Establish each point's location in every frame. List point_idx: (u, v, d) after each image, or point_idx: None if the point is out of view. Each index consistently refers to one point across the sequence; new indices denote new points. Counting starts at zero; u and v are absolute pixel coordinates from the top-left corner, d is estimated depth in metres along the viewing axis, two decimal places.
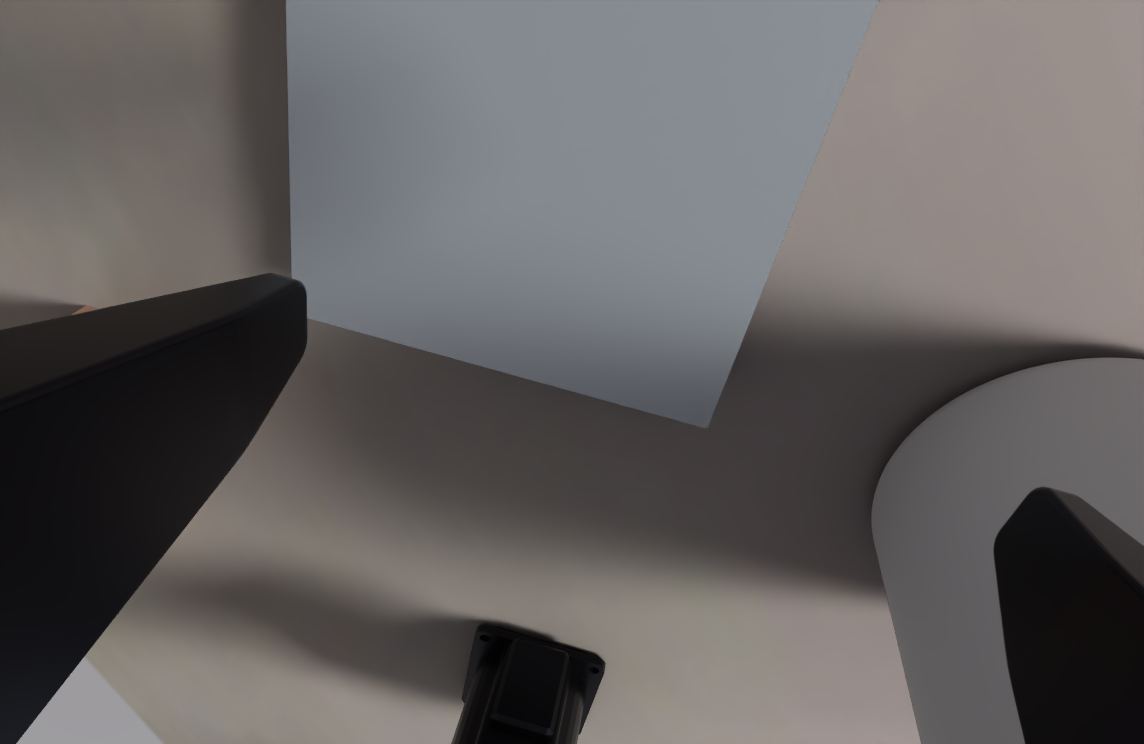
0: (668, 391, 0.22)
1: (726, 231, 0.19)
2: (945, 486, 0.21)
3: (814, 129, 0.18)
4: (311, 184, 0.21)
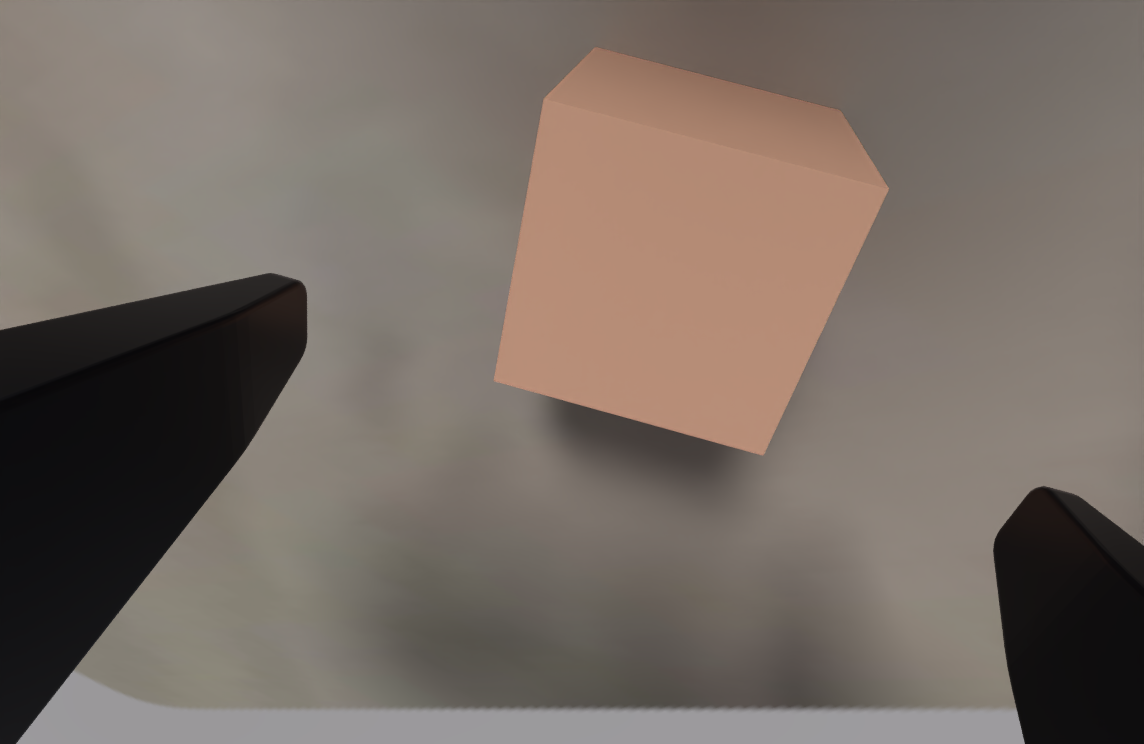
0: None
1: None
2: None
3: None
4: None
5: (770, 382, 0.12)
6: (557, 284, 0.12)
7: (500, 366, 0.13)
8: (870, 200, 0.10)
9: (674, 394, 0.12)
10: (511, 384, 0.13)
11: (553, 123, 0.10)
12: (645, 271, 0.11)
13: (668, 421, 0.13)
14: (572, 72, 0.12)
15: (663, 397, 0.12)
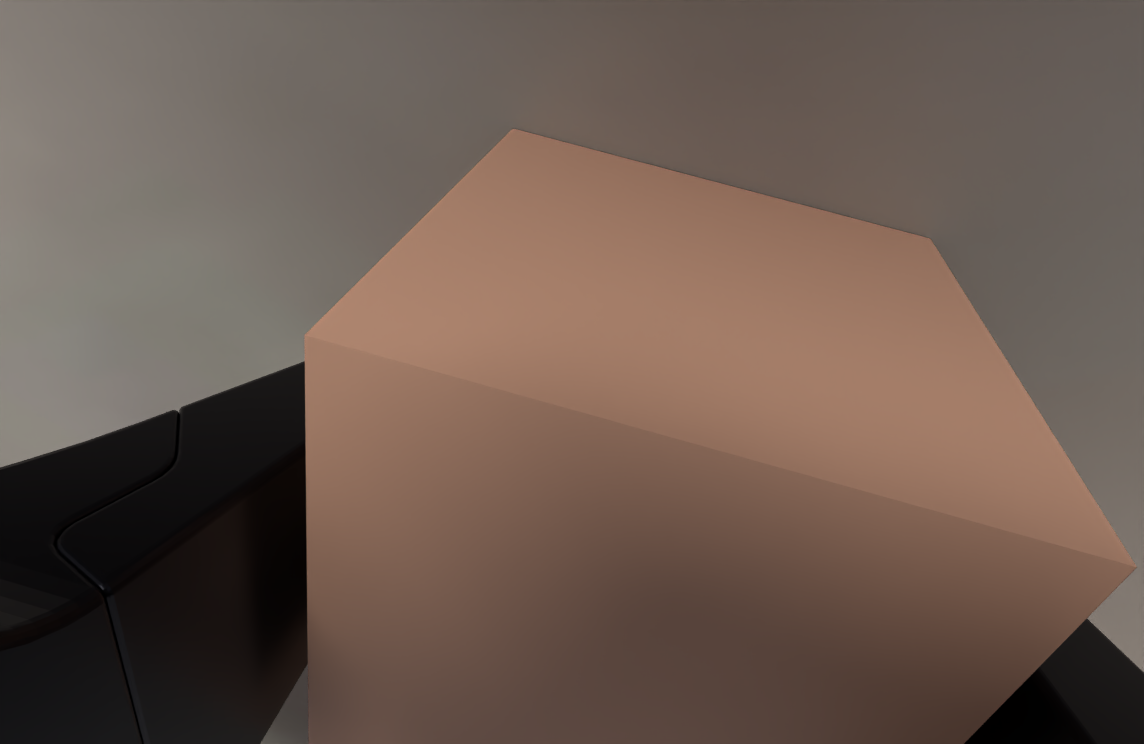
0: None
1: None
2: None
3: None
4: None
5: None
6: (395, 646, 0.06)
7: (315, 742, 0.07)
8: (1085, 583, 0.04)
9: None
10: None
11: (336, 383, 0.04)
12: (566, 646, 0.05)
13: None
14: (432, 213, 0.06)
15: None
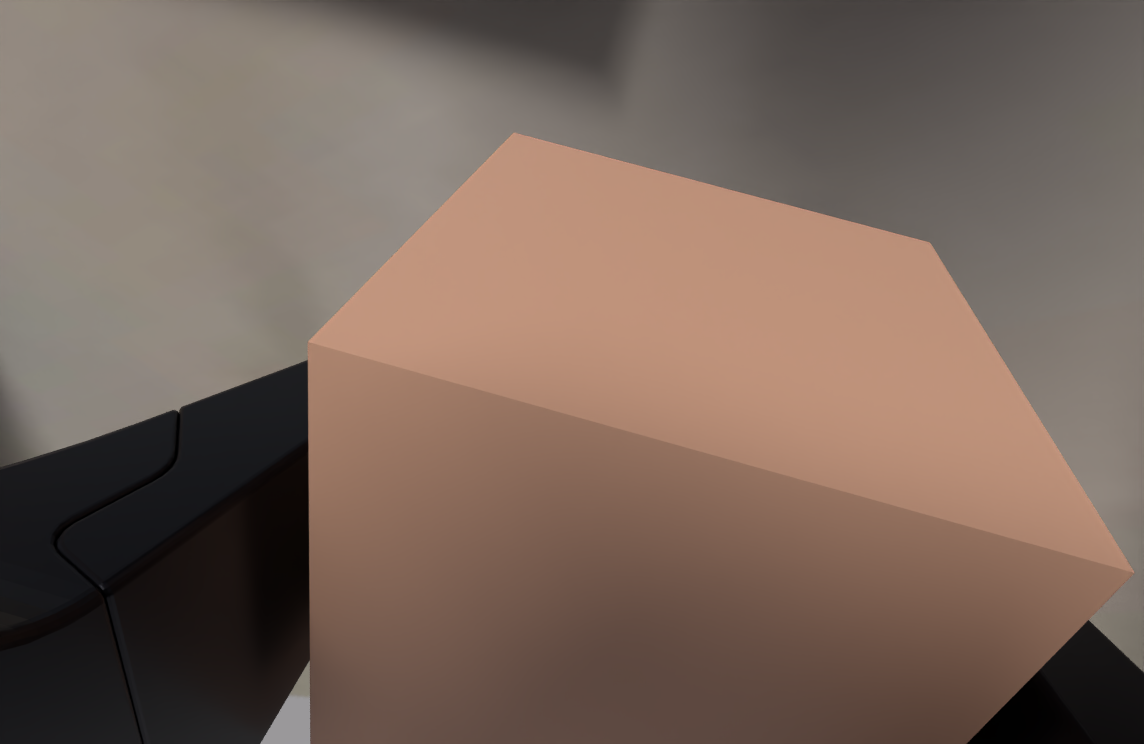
0: None
1: None
2: None
3: None
4: None
5: None
6: (398, 649, 0.06)
7: None
8: (1083, 588, 0.04)
9: None
10: None
11: (339, 389, 0.04)
12: (568, 651, 0.05)
13: None
14: (434, 218, 0.06)
15: None
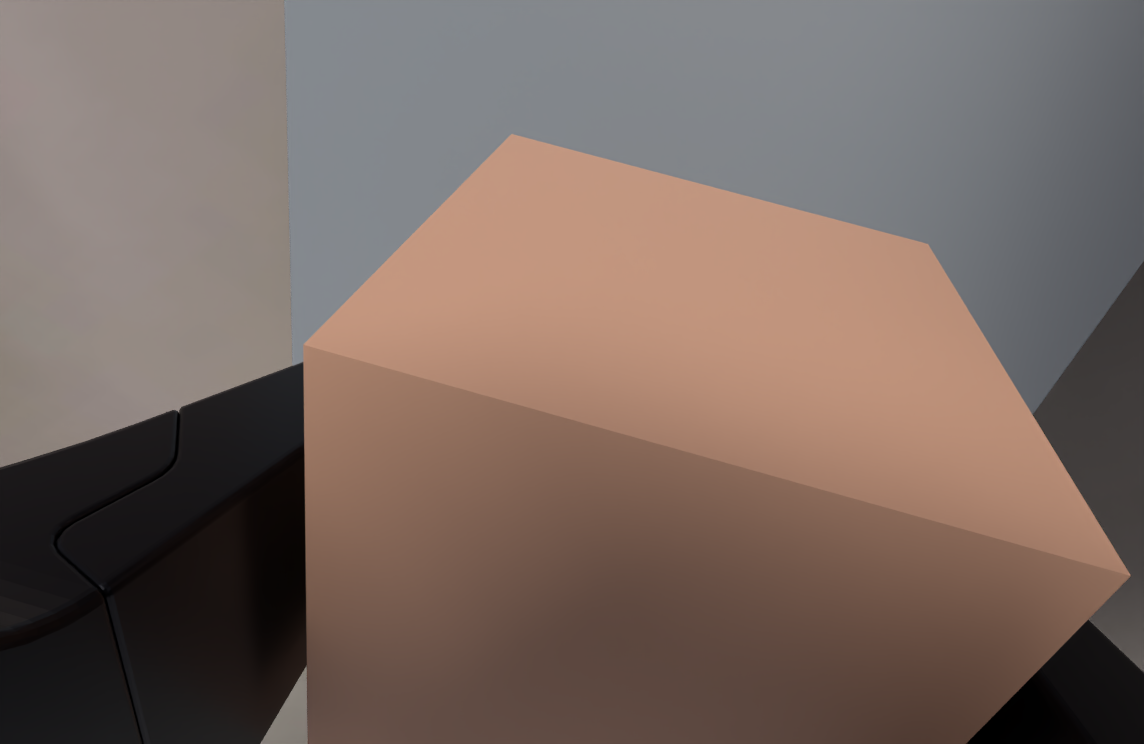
0: None
1: None
2: None
3: None
4: None
5: None
6: (395, 652, 0.06)
7: None
8: (1079, 592, 0.04)
9: None
10: None
11: (335, 392, 0.04)
12: (565, 653, 0.05)
13: None
14: (431, 220, 0.06)
15: None
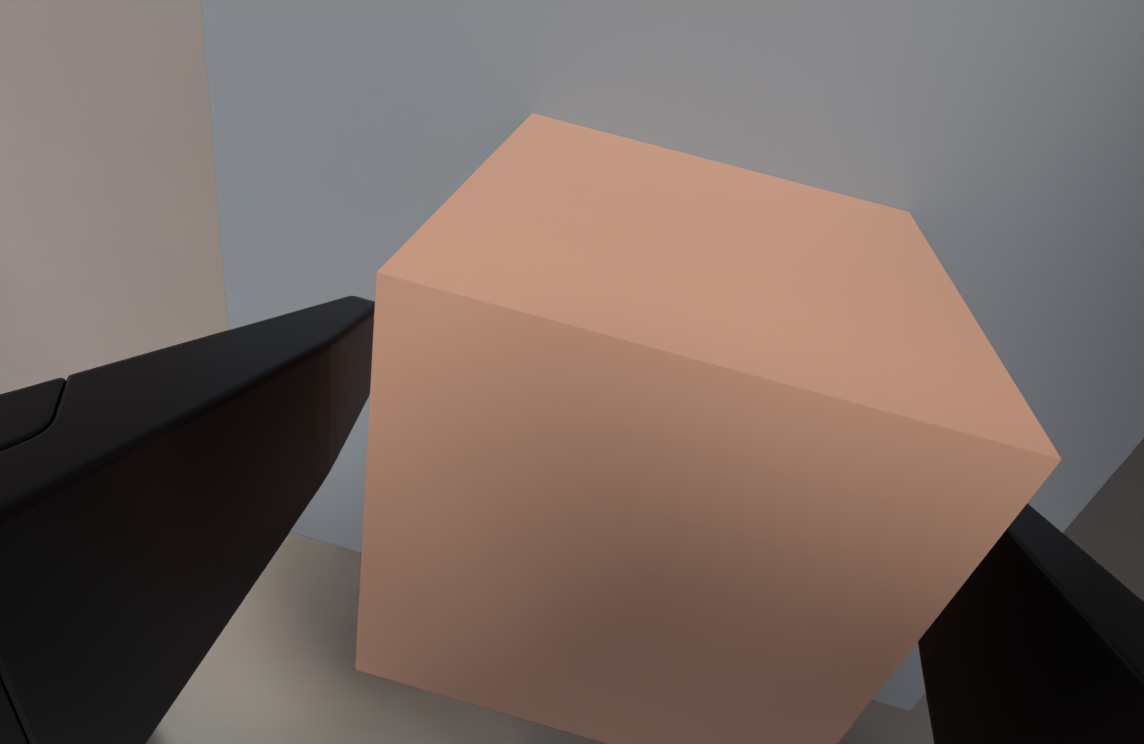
0: None
1: None
2: None
3: None
4: None
5: (809, 714, 0.07)
6: (440, 555, 0.07)
7: (362, 653, 0.08)
8: (1021, 475, 0.05)
9: (646, 713, 0.07)
10: (383, 675, 0.08)
11: (401, 314, 0.05)
12: (589, 550, 0.06)
13: None
14: (469, 182, 0.07)
15: (628, 715, 0.07)
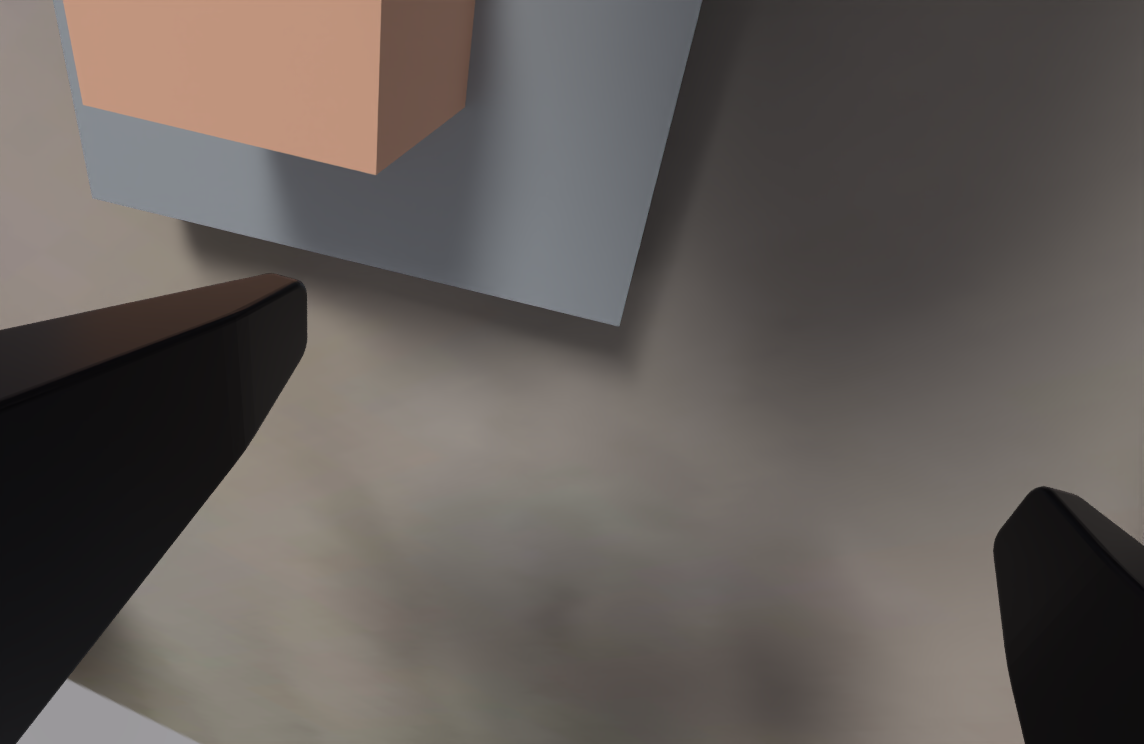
0: None
1: None
2: None
3: None
4: (443, 259, 0.18)
5: (352, 72, 0.11)
6: None
7: (82, 83, 0.12)
8: None
9: (263, 101, 0.11)
10: (102, 107, 0.12)
11: None
12: None
13: (269, 139, 0.12)
14: None
15: (254, 106, 0.11)
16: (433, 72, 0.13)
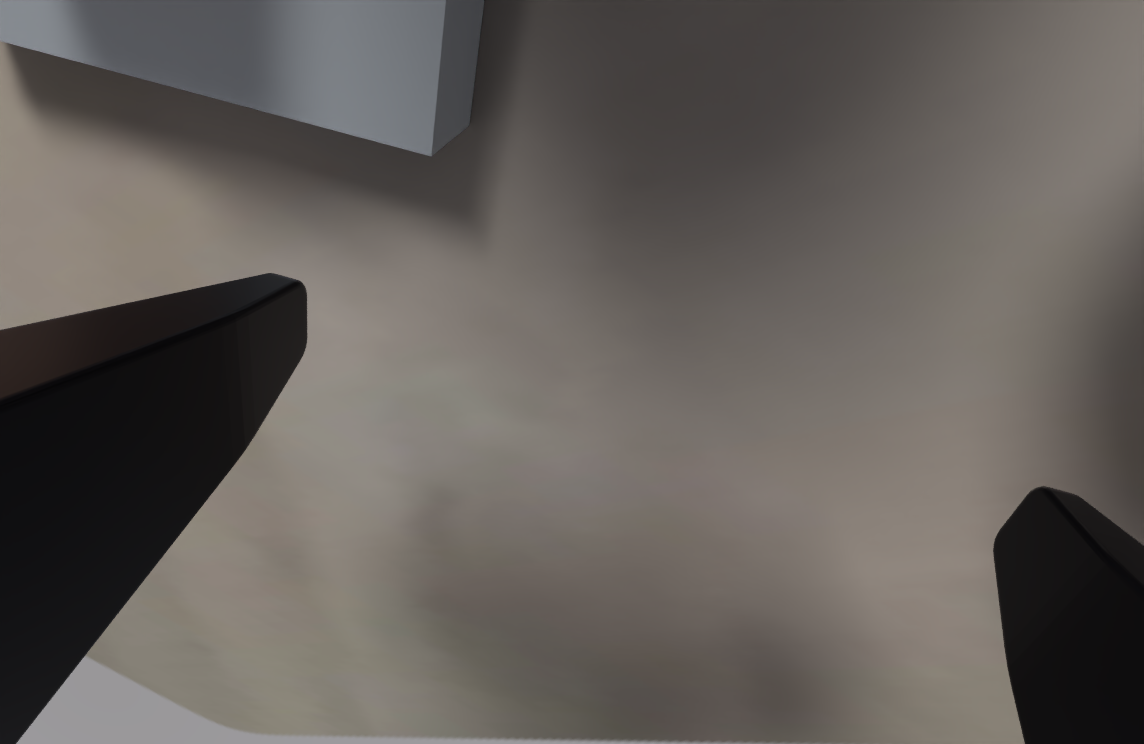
0: None
1: None
2: None
3: None
4: (245, 78, 0.17)
5: None
6: None
7: None
8: None
9: None
10: None
11: None
12: None
13: None
14: None
15: None
16: None
